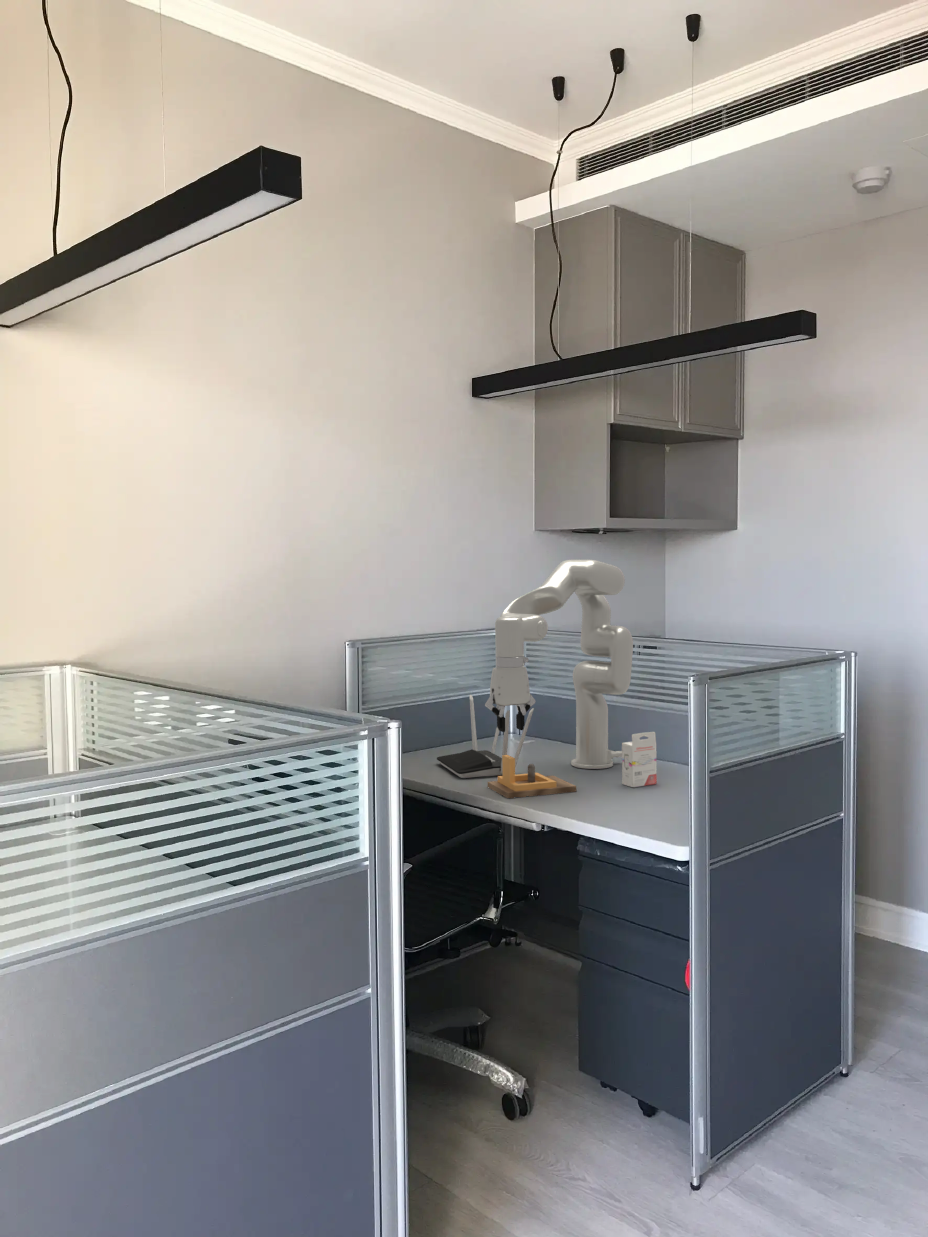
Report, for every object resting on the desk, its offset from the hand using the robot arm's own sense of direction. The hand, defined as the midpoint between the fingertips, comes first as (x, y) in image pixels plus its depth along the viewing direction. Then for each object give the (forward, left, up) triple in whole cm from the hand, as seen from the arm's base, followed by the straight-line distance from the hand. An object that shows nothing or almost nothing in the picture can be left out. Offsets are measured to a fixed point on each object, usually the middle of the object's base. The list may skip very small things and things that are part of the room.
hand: (510, 729), depth 264 cm
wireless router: (-4, -29, -17) cm, 34 cm away
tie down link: (-4, 0, -15) cm, 16 cm away
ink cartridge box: (-36, +6, -17) cm, 40 cm away
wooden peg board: (-6, 0, -17) cm, 18 cm away
